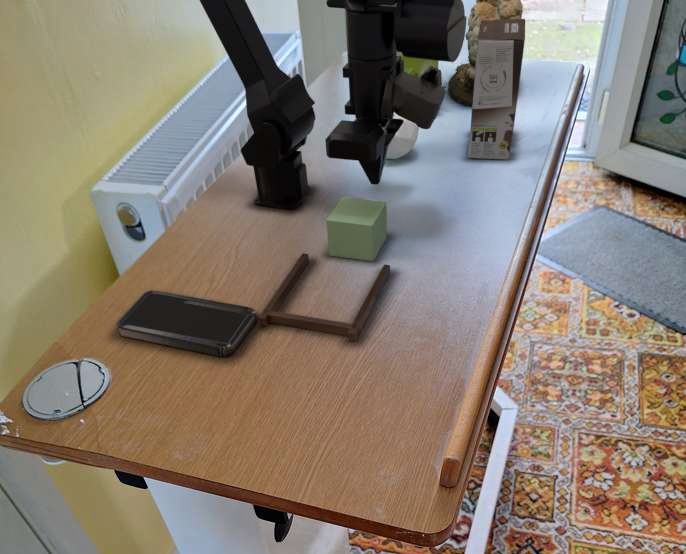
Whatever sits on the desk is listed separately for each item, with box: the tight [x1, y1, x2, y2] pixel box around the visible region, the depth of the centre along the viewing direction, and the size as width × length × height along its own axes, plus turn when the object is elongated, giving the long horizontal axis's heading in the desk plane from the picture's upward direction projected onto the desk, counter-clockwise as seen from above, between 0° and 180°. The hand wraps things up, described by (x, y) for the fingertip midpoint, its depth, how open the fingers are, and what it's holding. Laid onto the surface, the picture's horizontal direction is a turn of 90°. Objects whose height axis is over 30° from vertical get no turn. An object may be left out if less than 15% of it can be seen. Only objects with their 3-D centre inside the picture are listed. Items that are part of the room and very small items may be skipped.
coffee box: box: [467, 18, 526, 160], centre depth 98 cm, size 9×6×16 cm
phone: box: [116, 289, 258, 357], centre depth 78 cm, size 8×1×15 cm
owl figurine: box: [447, 0, 524, 107], centre depth 113 cm, size 18×12×17 cm, turn 170°
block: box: [325, 196, 388, 262], centre depth 85 cm, size 6×6×5 cm
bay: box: [258, 252, 391, 342], centre depth 80 cm, size 12×14×1 cm
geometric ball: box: [385, 112, 420, 160], centre depth 101 cm, size 8×8×8 cm
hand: (375, 183), depth 89 cm, fingers closed
